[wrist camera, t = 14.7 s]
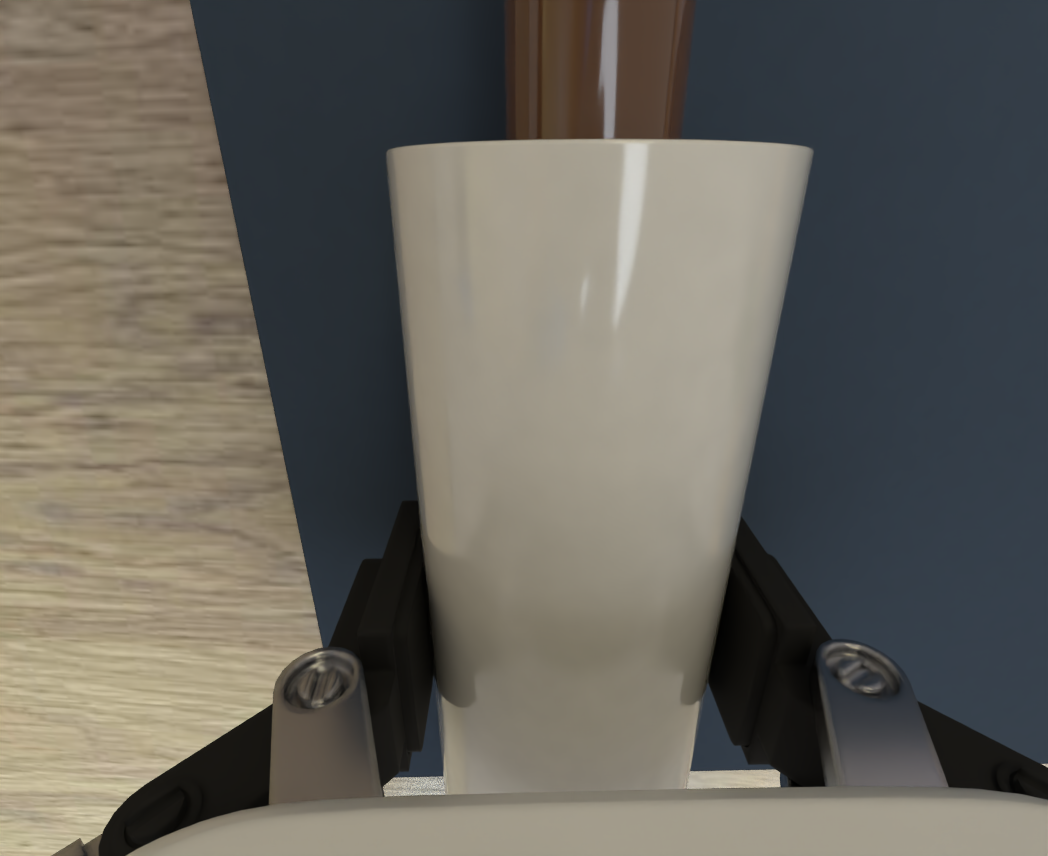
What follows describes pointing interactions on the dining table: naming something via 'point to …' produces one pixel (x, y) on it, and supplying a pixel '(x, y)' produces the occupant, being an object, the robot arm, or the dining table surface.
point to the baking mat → (806, 322)
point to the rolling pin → (585, 396)
